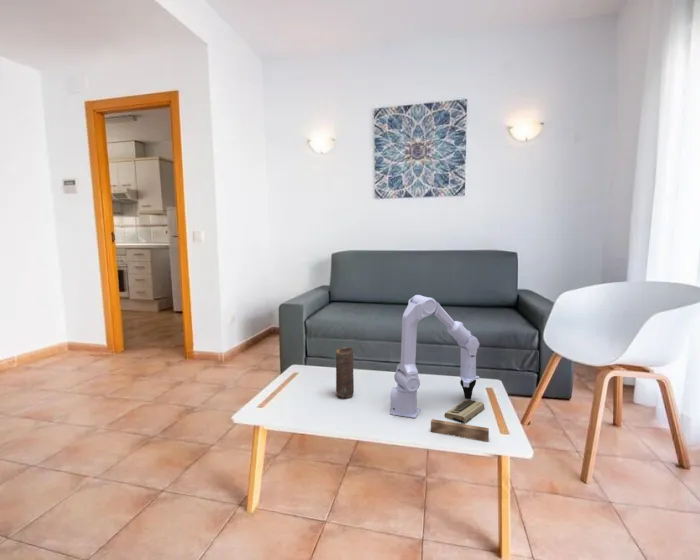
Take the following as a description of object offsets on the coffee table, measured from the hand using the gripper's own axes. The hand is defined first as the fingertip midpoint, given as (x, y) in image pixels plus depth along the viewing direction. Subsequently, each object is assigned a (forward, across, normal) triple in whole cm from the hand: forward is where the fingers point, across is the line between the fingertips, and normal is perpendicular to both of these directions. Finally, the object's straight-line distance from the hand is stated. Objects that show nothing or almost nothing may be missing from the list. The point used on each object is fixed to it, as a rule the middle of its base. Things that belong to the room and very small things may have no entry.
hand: (468, 398), depth 147 cm
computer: (+2, -10, 0) cm, 11 cm away
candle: (+2, -11, +48) cm, 49 cm away
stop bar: (+1, -27, 0) cm, 27 cm away
